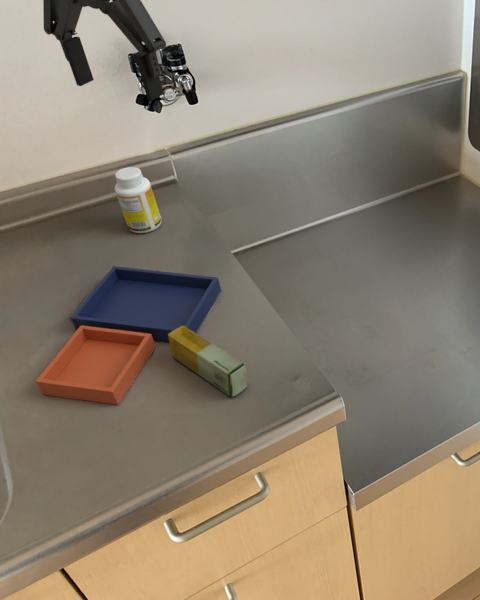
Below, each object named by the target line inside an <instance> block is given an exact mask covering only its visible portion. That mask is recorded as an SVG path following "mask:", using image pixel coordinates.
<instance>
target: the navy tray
mask: <svg viewBox="0 0 480 600" xmlns="http://www.w3.org/2000/svg"><path fill="white" fill-rule="evenodd" d="M221 291H222V288H221V284H220V280H219V277H216V276H207V275H199V274H198V275H197V274H188V273H181V272H180V273H179V272H170V271H161V270H151V269H143V268H134V267H124V266H115V265H113V266H112V267H111V269H110V270H109V271H108V272H107V274H106V275H105V276H104V277H103V278H102V279H101V281H100V282H99V283H98V284H97V285H96V287H94V289H93V290H92V291H91V292H90V294H89V295H88V296H87V297H86V299H85V300H84V301H83V302H82V303H81V304H80V305H79V307H78V308H77V309H76V310H75V311H74V313H73V314H72V315H71V316H70V321H71V323H72V324H73V325H72V326H73V327H74V329H75V332H76V331H77V329H78V328H79V327H80V326H81V325H83V326H91V327H99V328H107V329H115V330H123V331H132V332H140V333H148V334H151V335H152V337H153V340H154V342H164V343H169V338H168V334H169V333H171V332H172V331H174V330H175V329H177V328H179V327H181V326H185V327H187V328H188V329H190V330H192V331H193V332H195V333H196V334H197V332H198V330H199V329H200V327H201V326H202V324H203V322H204V320H205V318H207V315H208V314H209V312H210V310H211V309H212V307H213V305H214V304H215V301H216V300H217V298H218V297H219V295H220V293H221Z"/></svg>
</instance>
